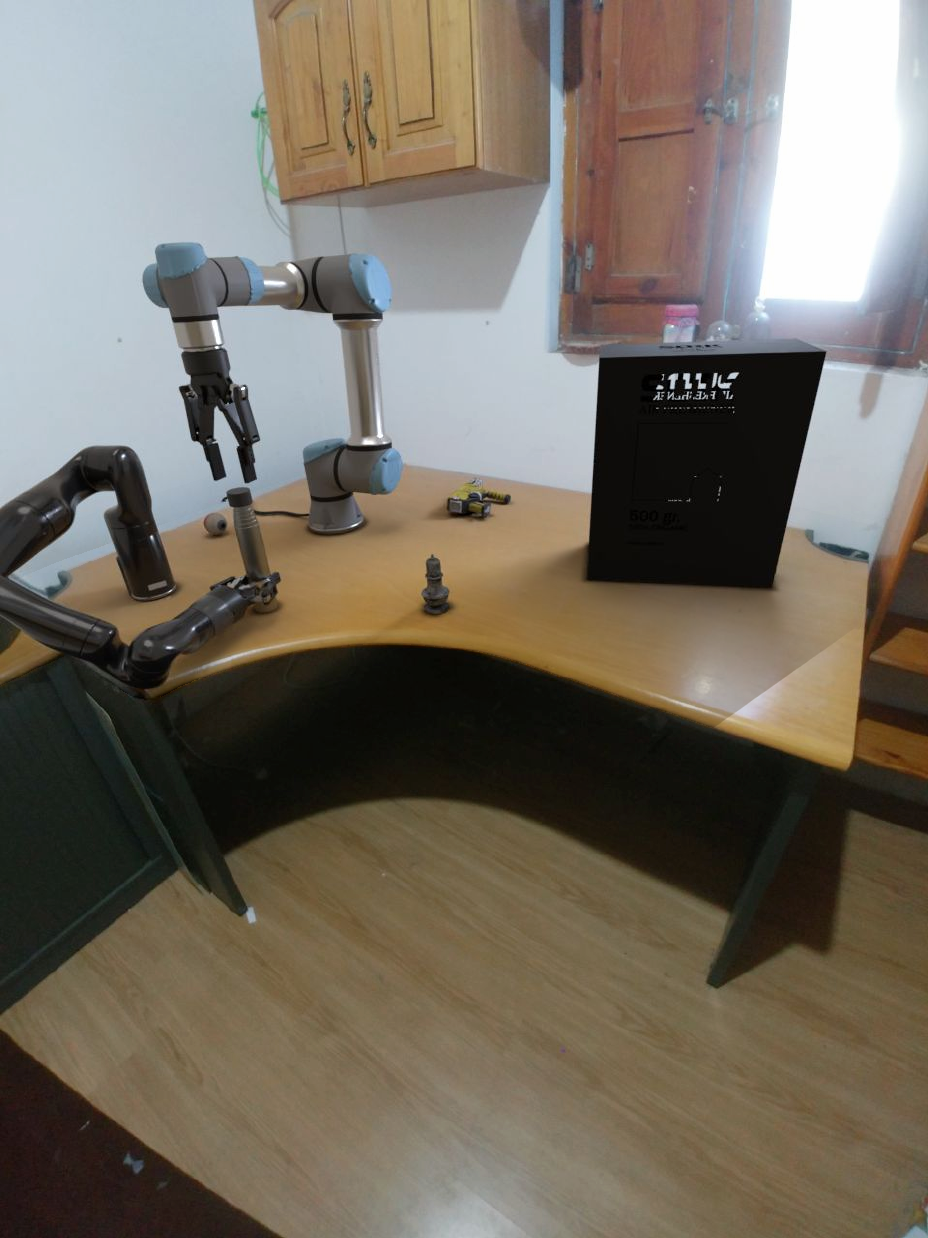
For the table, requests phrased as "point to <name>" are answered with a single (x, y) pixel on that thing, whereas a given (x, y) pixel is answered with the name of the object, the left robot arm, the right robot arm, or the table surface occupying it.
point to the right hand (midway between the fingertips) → (235, 479)
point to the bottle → (252, 551)
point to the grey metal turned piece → (435, 588)
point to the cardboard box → (698, 459)
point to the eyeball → (215, 523)
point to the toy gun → (473, 499)
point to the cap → (239, 497)
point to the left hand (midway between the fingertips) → (267, 574)
